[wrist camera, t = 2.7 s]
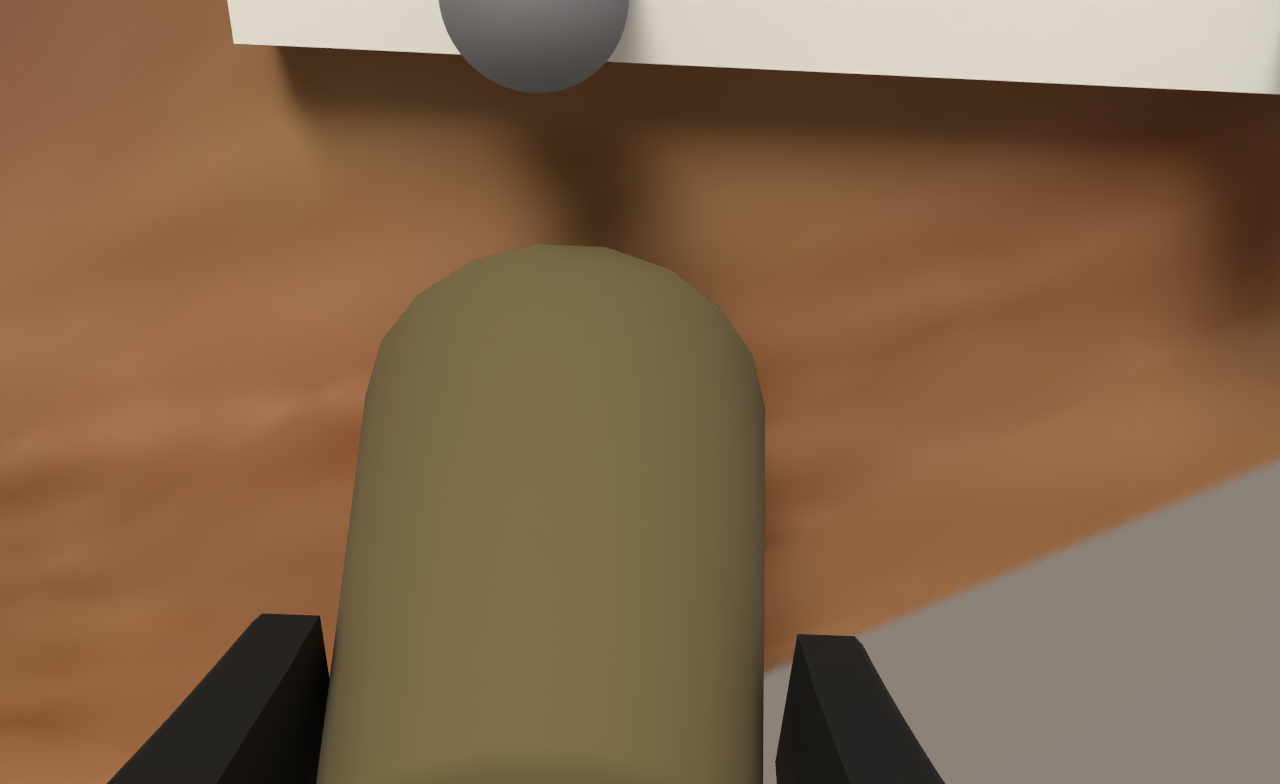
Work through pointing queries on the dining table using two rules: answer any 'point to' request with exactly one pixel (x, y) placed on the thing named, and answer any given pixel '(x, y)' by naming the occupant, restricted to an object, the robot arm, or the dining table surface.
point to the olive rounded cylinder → (554, 536)
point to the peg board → (806, 37)
